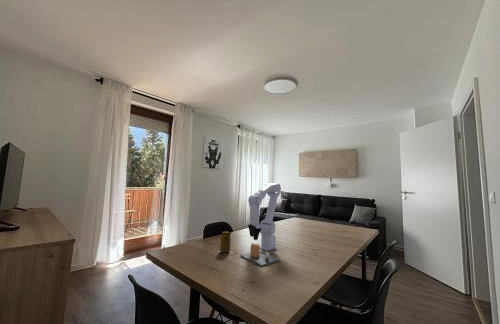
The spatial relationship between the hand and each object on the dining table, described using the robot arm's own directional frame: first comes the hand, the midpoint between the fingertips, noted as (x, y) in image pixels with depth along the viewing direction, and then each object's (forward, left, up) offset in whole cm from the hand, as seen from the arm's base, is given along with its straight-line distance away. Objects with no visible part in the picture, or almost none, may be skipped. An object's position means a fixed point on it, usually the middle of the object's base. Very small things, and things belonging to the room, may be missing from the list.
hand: (253, 238), depth 127 cm
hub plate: (+1, +7, -10) cm, 12 cm away
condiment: (+11, -13, -10) cm, 20 cm away
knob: (+1, +3, -9) cm, 9 cm away
